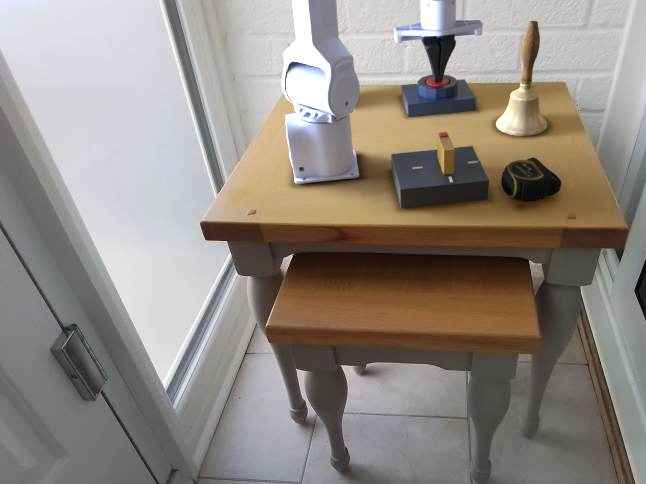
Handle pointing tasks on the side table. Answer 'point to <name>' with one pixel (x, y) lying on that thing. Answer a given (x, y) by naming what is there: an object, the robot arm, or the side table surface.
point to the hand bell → (525, 93)
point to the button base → (437, 97)
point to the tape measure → (529, 180)
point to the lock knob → (445, 153)
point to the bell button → (431, 83)
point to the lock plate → (438, 178)
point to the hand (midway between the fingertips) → (437, 80)
